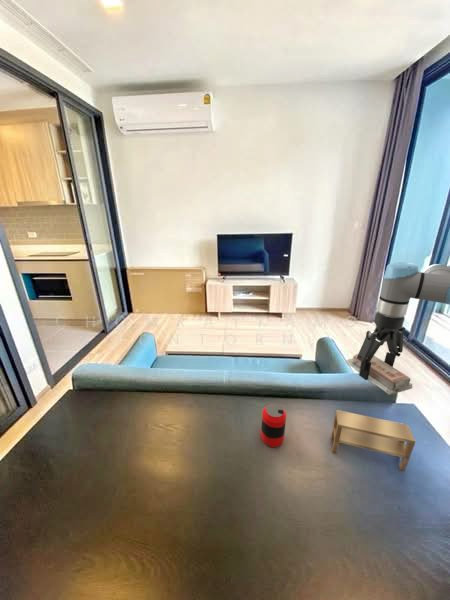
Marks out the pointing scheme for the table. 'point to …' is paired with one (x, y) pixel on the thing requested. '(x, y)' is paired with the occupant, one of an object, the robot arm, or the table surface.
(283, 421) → the soda can
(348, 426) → the rack
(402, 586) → the table surface
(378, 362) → the packaged product
